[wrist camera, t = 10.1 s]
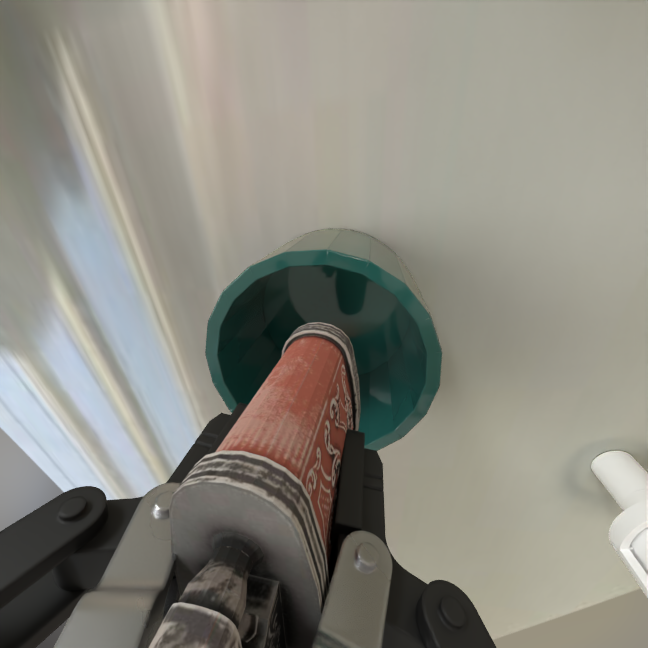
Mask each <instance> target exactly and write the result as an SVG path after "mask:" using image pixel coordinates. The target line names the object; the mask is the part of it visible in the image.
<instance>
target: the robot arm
mask: <svg viewBox="0 0 648 648" xmlns="http://www.w3.org/2000/svg"><path fill="white" fill-rule="evenodd" d="M247 406H248V404H244V403H239V404H238V405H237V406H236V408H235V410H234V411H233V413H232V414H231V415H228V414H223V413H221V414H220V415H218V416H217V417H215V418H214V419H212V420H211V421H209V423H208V424H207V426H206V427H205V429H204V430H203V431H202V434H201V435H200V436H199V437H198V439H197V440H196V441H195V444H193V446H192V447H191V449H190V450H189V452H188V453H187V454H186V456H185V457H184V459H183V460H182V462H181V463H180V464H179V466H178V467H177V469H176V470H175V472H174V473H173V474H172V476H171V477H170V479H169V480H168V481H167V482H166V483H165V484H162V485H159V486H157V487H155V488H153V489H152V490H150V491H149V492H148V493H147V494H146V495H145V496H143V497H139V498H133V499H119V500H106V496H105V494H104V492H103V491H102V490H100V489H99V488H96V487H91V486H85V487H79V488H75V489H72V490H69V491H67V492H65V493H63V494H61V495H59V496H58V497H56V498H54V499H53V500H51V501H49V502H48V503H46V504H45V505H43V506H41V507H40V508H38V509H37V510H35V511H33V512H32V513H30V514H28V515H27V516H25V517H23V518H22V519H20V520H19V521H17V522H15V523H14V524H12V525H10V526H9V527H7V528H5V529H4V530H2V531H1V532H0V648H36V647H37V646H38V645H39V644H40V643H41V642H42V641H44V640H45V639H46V638H47V637H48V636H49V635H50V634H51V633H52V632H53V631H55V630H56V629H57V628H58V627H59V626H60V625H61V624H62V623H64V621H66V620H67V619H68V618H69V617H70V618H69V620H68V621H67V623H66V625H65V627H64V629H63V631H62V633H61V635H60V637H59V638H58V640H57V642H56V644H55V646H54V648H149V646H150V644H151V642H152V640H153V639H154V637H155V635H156V633H157V631H158V629H159V628H160V626H161V624H162V622H163V620H164V618H165V617H166V615H167V613H168V611H169V609H170V607H171V606H172V605H173V603H178V602H179V600H180V598H181V597H180V593H179V588H178V583H177V579H176V574H175V570H176V567H177V565H176V554H174V553H171V537H170V517H169V506H170V502H171V498H172V495H173V494H174V492H175V491H176V490H177V488H178V487H179V486H180V484H181V483H182V482H183V480H184V479H185V478H186V476H187V475H188V474H189V472H190V471H191V469H192V468H193V467H194V465H195V464H196V463H197V462H199V461H200V460H201V459H202V458H203V457H204V456H206V455H208V454H212V453H215V452H216V450H217V449H218V447H219V446H220V445H221V443H222V442H223V440H224V439H225V437H226V436H227V435H228V433H229V432H230V430H231V429H232V427H233V426H234V425H235V423H236V422H237V420H238V419H239V417H240V416H241V415H242V413H243V412H244V410H245V409H246V407H247ZM364 446H365V433H364V432H359V431H355V430H351V429H347V432H346V437H345V441H344V448H343V455H342V462H341V469H340V476H339V483H338V490H337V497H336V504H335V511H334V518H333V525H332V532H331V556H330V566H329V573H328V575H329V583H330V586H329V589H328V592H327V596H326V599H325V603H324V606H323V610H322V613H321V617H320V620H319V623H318V626H317V630H316V633H315V637H314V640H313V643H312V647H311V648H496V646H495V644H494V642H493V640H492V639H491V637H490V635H489V633H488V631H487V629H486V627H485V625H484V624H483V622H482V620H481V618H480V616H479V614H478V612H477V610H476V609H475V607H474V605H473V603H472V602H471V600H470V599H469V598H468V596H467V595H466V594H465V593H464V592H463V591H462V590H461V589H459V588H458V587H457V586H455V585H454V584H452V583H450V582H447V581H444V580H435V581H432V582H430V583H429V584H426V583H425V582H423V581H422V580H420V579H418V578H417V577H415V576H414V575H412V574H411V573H409V572H408V571H406V570H405V569H404V568H402V567H401V566H400V565H399V564H398V563H397V561H396V560H395V559H394V557H393V556H392V554H391V553H390V551H389V548H388V546H387V543H386V538H385V517H384V492H383V464H382V462H381V460H380V458H379V455H378V453H377V451H375V450H370V449H366V448H364Z"/></svg>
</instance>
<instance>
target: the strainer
mask: <svg viewBox="0 0 648 648" xmlns="http://www.w3.org/2000/svg"><path fill="white" fill-rule="evenodd" d="M591 469H592V471H593V473H594V474H595V475H596V477H597V478H598V479H599V480H600V481H601V483H602V484H603V485H604V487H605V488H606V489H607V490H608V492H609V493H610V494H611V496H612V497H613V498H614V499H615V501H616V502H617V503H618V505H619V506H620V507H621V509H622V510H623V512H622V513H621V514H619V515H618V516H617V517H616V519H615V520H614V521H613V523H612V524H611V526H610V529H609V540H610V543H611V545H612V547H613V548H614V550H615V551H616V553H617V554H618V555H619V557H620V558H621V560H622V561H623V563H624V564H625V566H626V567H627V569H628V570H629V571H630V573H631V574H632V576H633V577H634V579H635V580H636V582H637V583H638V585H639V586H640V588H641V589H642V591H643V592H644V594H645V595H646V597H647V598H648V472H647V471H646V470H645V469H644V468H643V467H642V466H641V465H640V464H639V463H638V462H637V461H636V460H635V459H634V458H633V457H632V456H631V455H630V454H629V453H626V452H623V451H609V452H605V453H603V454H601V455H599V456H597V457H596V458H595V459H594V460H593V462H592V464H591Z"/></svg>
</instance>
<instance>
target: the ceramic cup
mask: <svg viewBox="0 0 648 648" xmlns="http://www.w3.org/2000/svg"><path fill="white" fill-rule="evenodd" d="M315 322H321V323H326V324H331V325H333V326H335V327H337V328H339V329H341V330H342V331H343V332H344V333H345V334H346V335H347V336H348V337H349V339H350V341H351V344H352V346H353V351H354V357H355V362H356V367H357V373H358V378H359V392H360V412H361V413H360V421H359V429H358V431H359V432H364V433H365V446H364V448H366V449H370V450H375V451H378V450H380V449H382V448H384V447H386V446H388V445H390V444H391V443H393V442H395V441H397V440H399V439H401V438H402V437H404V436H405V435H406V434H407V433H408V432H409V431H410V430H411V429H412V428H413V427H414V426H415V425H416V424H417V423H418V422H419V421H420V420H421V419H422V418H423V417H424V416H425V415H426V414H427V412H428V410H429V407H430V405H431V403H432V401H433V399H434V397H435V395H436V393H437V391H438V388H439V386H440V376H441V361H442V349H441V346H440V343H439V340H438V337H437V334H436V330H435V327H434V324H433V321H432V318H431V315H430V313H429V311H428V309H427V307H426V305H425V302H424V300H423V298H422V296H421V294H420V292H419V289H418V287H417V285H416V283H415V281H414V279H413V277H412V274H411V273H410V272H409V270H408V269H407V267H406V266H405V265H404V263H403V262H402V260H401V259H400V258H399V257H398V256H397V255H396V253H394V252H393V251H392V250H391V249H390V248H389V247H387V246H386V245H385V244H383V243H382V242H380V241H378V240H377V239H375V238H373V237H371V236H369V235H366V234H364V233H360V232H357V231H353V230H347V229H324V230H317V231H314V232H310V233H307V234H305V235H302V236H300V237H298V238H296V239H294V240H291V241H289V242H287V243H286V244H284V245H283V246H281V247H280V248H278V249H276V250H275V251H273V252H272V253H270V254H268V255H267V256H265V257H264V258H262V259H261V260H259V261H257V262H256V263H254V264H253V265H251V266H250V267H248V268H247V269H246V270H245V271H244V272H243V273H241V274H240V275H239V276H238V277H237V278H236V279H235V280H234V281H233V282H232V283H231V284H230V285H229V286H228V287H227V288H225V289H224V290H223V292H222V293H221V295H220V297H219V299H218V302H217V304H216V306H215V308H214V310H213V312H212V314H211V316H210V318H209V320H208V326H207V338H206V350H205V353H206V358H207V362H208V366H209V370H210V374H211V378H212V381H213V383H214V386H215V387H216V389H217V391H218V392H219V394H220V396H221V397H222V399H223V401H224V402H225V404H226V405H227V407H228V409H229V410H230V412H232V413H233V411H234V410H235V408H236V406H237V405H238V404H239V403H244V404H248V405H249V403H250V402H251V400H252V399H253V397H254V396H255V395H256V393H257V392H258V390H259V389H260V387H261V386H262V385H263V383H264V382H265V380H266V379H267V377H268V376H269V374H270V373H271V372H272V370H273V369H274V367H275V366H276V364H277V363H278V362H279V360H280V359H281V356H282V350H283V348H284V345H285V343H286V341H287V340H288V339H289V337H290V336H291V334H292V333H293V332H294V331H295V330H296V329H297V328H298V327H300V326H303V325H305V324H307V323H315Z"/></svg>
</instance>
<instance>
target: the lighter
mask: <svg viewBox="0 0 648 648" xmlns="http://www.w3.org/2000/svg"><path fill="white" fill-rule="evenodd" d="M360 413H361V412H360V392H359V378H358V373H357V367H356V362H355V357H354V351H353V346H352V344H351V341H350V339H349V337H348V336H347V335H346V334H345V333H344V332H343V331H342V330H341V329H339V328H337V327H335V326H333V325H331V324H326V323H321V322H315V323H307V324H305V325H303V326H300V327H298V328H297V329H296V330H295V331H294V332H293V333H292V334H291V336H290V337H289V339H288V340H287V341H286V343H285V345H284V348H283V350H282V356H281V359H280V360H279V362H278V363H277V364H276V366H275V367H274V369H273V370H272V372H271V373H270V374H269V376H268V377H267V379H266V380H265V382H264V383H263V385H262V386H261V387H260V389H259V390H258V392H257V393H256V395H255V396H254V397H253V399H252V400H251V402H250V403H249V405H248V406H247V407H246V409H245V410H244V412H243V413H242V415H241V416H240V417H239V419H238V420H237V422H236V423H235V425H234V426H233V427H232V429H231V430H230V432H229V433H228V435H227V436H226V437H225V439H224V440H223V442H222V443H221V445H220V446H219V447H218V449H217V450H216V452H215V453H212V454H208V455H206V456H204V457H203V458H202V459H201V460H200V461H199V462H197V463H196V464H195V465H194V467H193V468H192V469H191V471H190V472H189V474H188V475H187V476H186V478H185V479H184V480H183V482H182V483H181V484H180V486H179V487H178V488H177V490H176V491H175V492H174V494H173V495H172V498H171V502H170V506H169V517H170V537H171V553H174V554H176V565H177V567H176V570H175V574H176V579H177V583H178V588H179V593H180V597H181V598H180V600H179V602H178V603H173V605H172V606H171V607H170V609H169V611H168V613H167V615H166V617H165V618H164V620H163V622H162V624H161V626H160V628H159V629H158V631H157V633H156V635H155V637H154V639H153V640H152V642H151V644H150V646H149V648H311V647H312V643H313V640H314V637H315V633H316V630H317V626H318V623H319V620H320V617H321V613H322V610H323V606H324V603H325V599H326V596H327V592H328V589H329V586H330V583H329V575H328V573H329V566H330V556H331V532H332V525H333V518H334V511H335V504H336V497H337V490H338V483H339V476H340V469H341V462H342V455H343V448H344V441H345V437H346V432H347V429H351V430H355V431H358V429H359V421H360Z"/></svg>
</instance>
